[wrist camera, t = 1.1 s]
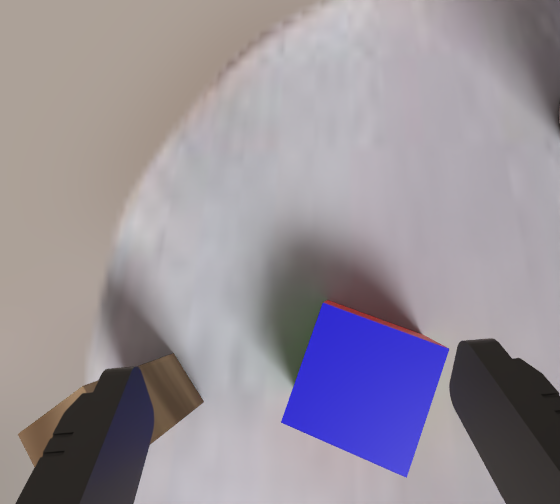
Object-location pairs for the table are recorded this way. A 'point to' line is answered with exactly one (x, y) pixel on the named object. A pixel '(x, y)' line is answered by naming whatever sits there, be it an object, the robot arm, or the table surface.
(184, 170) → the table surface
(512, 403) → the robot arm
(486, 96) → the table surface
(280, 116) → the table surface
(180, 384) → the pillar
